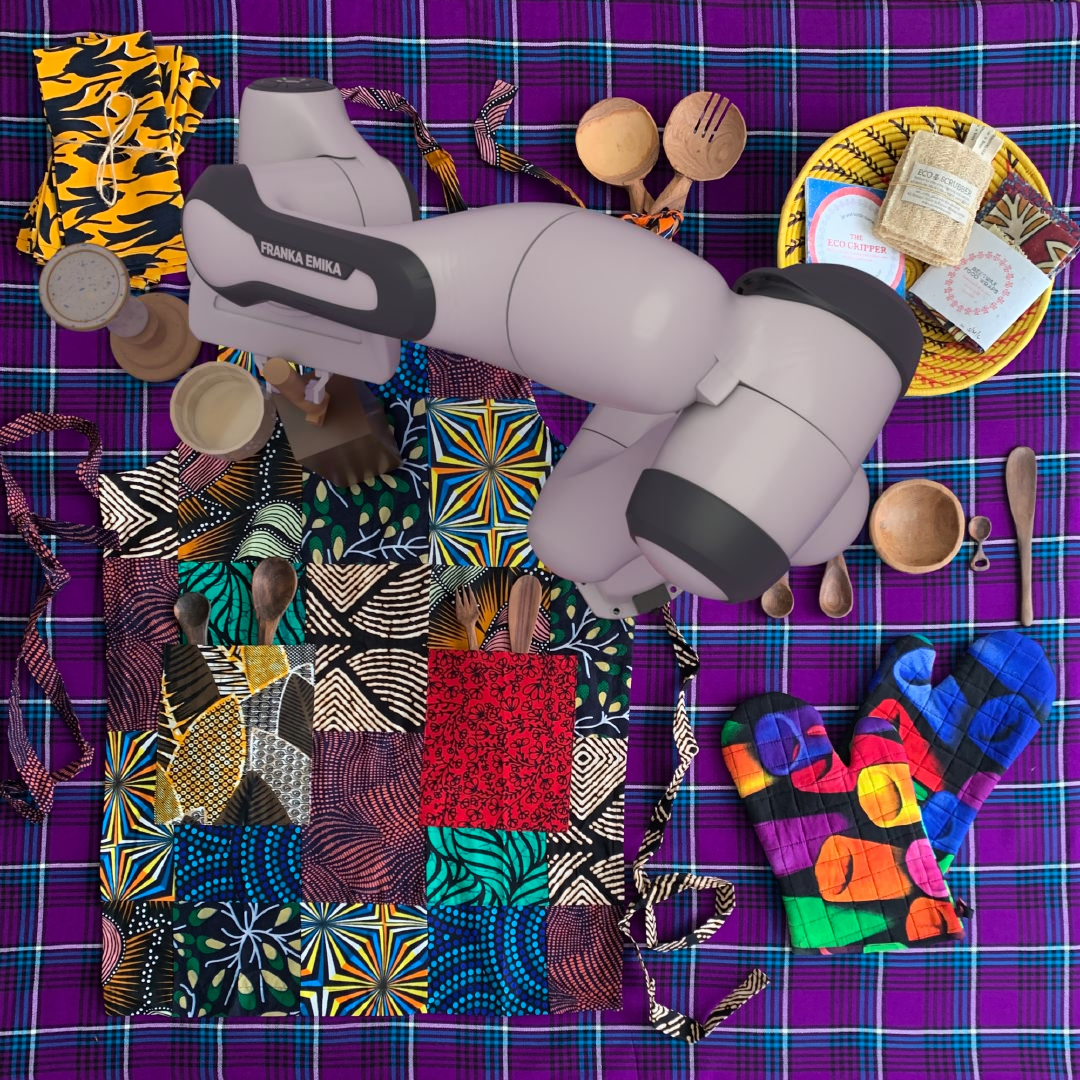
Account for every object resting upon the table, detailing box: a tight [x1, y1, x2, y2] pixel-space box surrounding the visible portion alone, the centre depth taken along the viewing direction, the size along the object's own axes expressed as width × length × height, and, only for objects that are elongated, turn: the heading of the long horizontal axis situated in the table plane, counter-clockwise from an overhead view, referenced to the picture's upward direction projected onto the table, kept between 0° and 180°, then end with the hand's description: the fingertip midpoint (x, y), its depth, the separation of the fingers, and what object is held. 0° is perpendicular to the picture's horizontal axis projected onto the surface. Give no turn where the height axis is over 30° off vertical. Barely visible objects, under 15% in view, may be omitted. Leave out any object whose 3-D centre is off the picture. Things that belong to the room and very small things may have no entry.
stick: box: [262, 358, 330, 426], centre depth 93 cm, size 4×3×16 cm
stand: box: [271, 369, 405, 490], centre depth 112 cm, size 9×9×22 cm
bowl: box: [169, 360, 277, 462], centre depth 120 cm, size 12×12×6 cm
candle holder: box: [38, 242, 203, 383], centre depth 114 cm, size 12×12×20 cm
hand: (296, 395), depth 92 cm, fingers closed on stick, 2 cm apart
